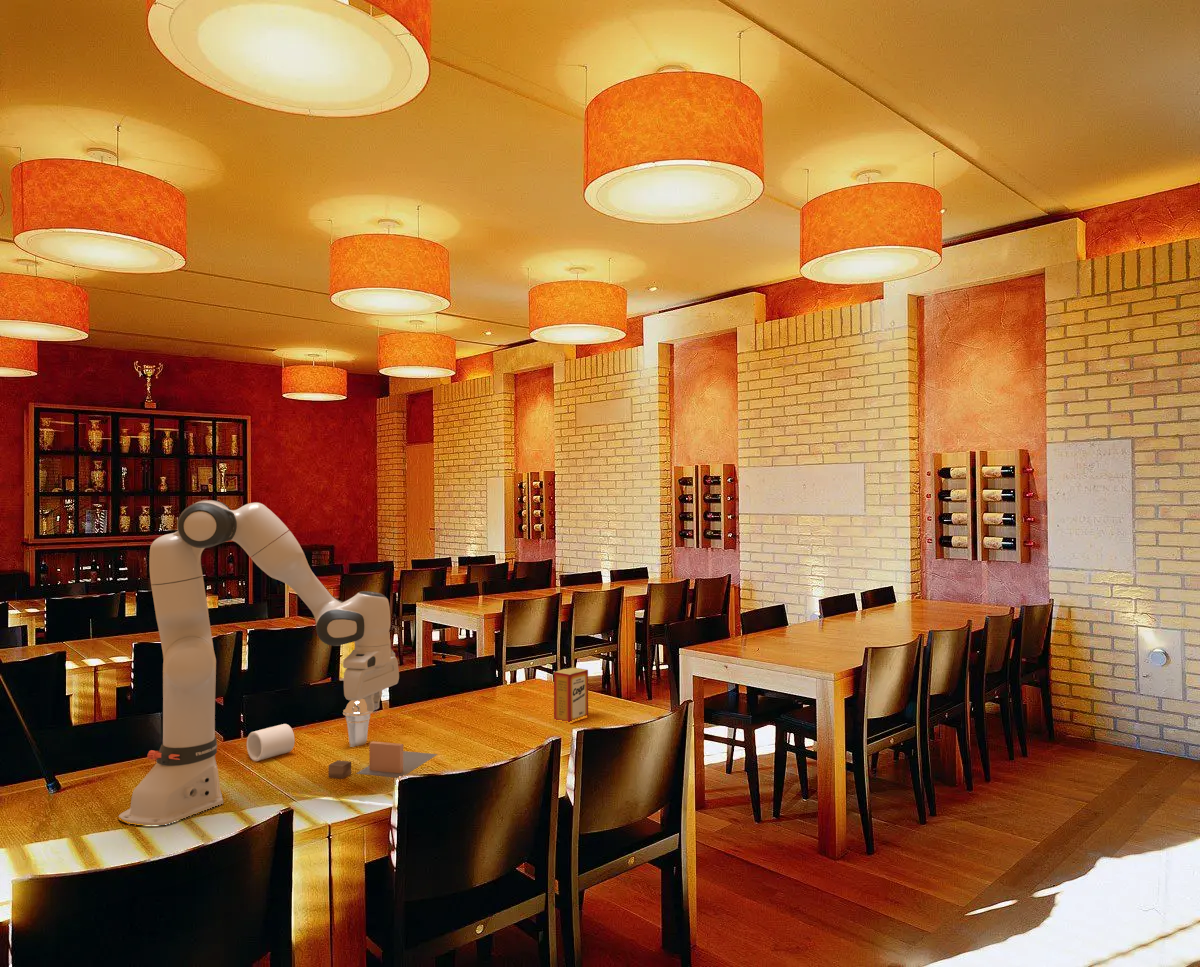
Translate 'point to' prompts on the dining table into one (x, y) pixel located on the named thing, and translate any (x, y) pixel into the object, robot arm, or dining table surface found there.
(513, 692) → the dining table surface
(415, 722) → the dining table surface
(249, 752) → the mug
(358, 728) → the cup with straw
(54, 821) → the dining table surface
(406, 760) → the slate board
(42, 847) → the dining table surface
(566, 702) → the baking soda box
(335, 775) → the walnut cube
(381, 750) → the tile
